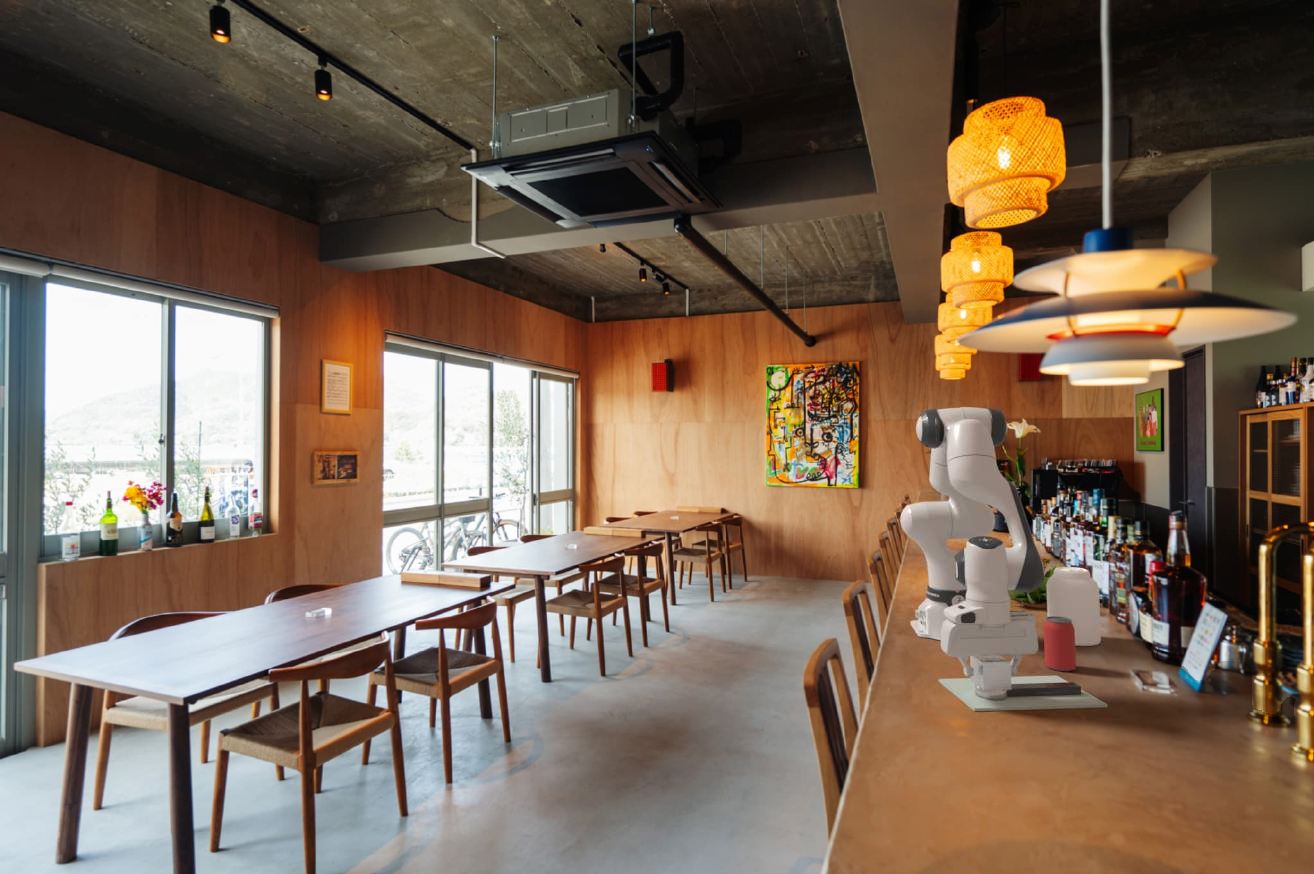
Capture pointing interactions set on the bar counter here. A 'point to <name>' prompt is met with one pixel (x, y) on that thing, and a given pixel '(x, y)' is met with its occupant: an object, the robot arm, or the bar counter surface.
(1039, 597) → the potted flower
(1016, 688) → the lever
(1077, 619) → the white plastic canister
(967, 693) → the mat
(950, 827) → the bar counter surface
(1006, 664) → the grey box
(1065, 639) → the beer can
